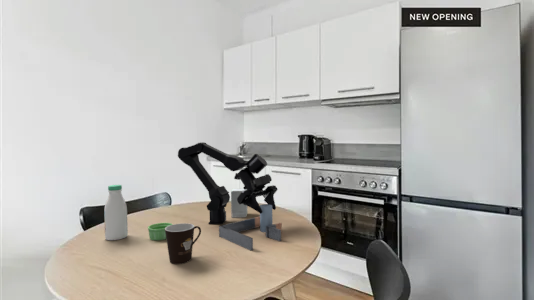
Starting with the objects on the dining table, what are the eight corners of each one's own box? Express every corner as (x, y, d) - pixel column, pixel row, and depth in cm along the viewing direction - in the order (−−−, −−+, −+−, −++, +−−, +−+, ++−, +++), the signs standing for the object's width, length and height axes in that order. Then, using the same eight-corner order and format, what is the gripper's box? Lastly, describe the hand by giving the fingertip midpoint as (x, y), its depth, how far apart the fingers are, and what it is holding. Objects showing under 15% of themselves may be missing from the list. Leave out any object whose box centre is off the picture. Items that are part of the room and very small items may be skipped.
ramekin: (143, 237, 110) (143, 226, 110) (166, 232, 117) (165, 221, 117) (155, 243, 104) (154, 230, 104) (177, 236, 111) (177, 225, 111)
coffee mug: (168, 268, 83) (167, 233, 83) (163, 257, 90) (162, 225, 90) (208, 259, 88) (207, 227, 88) (200, 250, 96) (200, 220, 96)
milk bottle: (132, 235, 113) (130, 184, 112) (114, 241, 106) (112, 187, 105) (118, 233, 116) (117, 183, 115) (100, 239, 109) (98, 186, 108)
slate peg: (260, 232, 114) (259, 207, 114) (260, 228, 119) (259, 204, 119) (272, 232, 114) (272, 206, 114) (272, 228, 119) (272, 204, 119)
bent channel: (251, 250, 95) (250, 238, 95) (219, 236, 110) (218, 225, 110) (293, 236, 108) (293, 226, 108) (259, 225, 123) (259, 216, 123)
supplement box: (246, 217, 137) (246, 190, 136) (231, 217, 137) (230, 191, 137) (248, 213, 144) (247, 188, 144) (233, 213, 144) (232, 188, 144)
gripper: (241, 170, 112) (261, 202, 104) (274, 166, 125) (294, 195, 118) (228, 188, 117) (247, 220, 110) (261, 183, 131) (280, 211, 123)
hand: (268, 211), depth 115 cm, fingers open, 7 cm apart
